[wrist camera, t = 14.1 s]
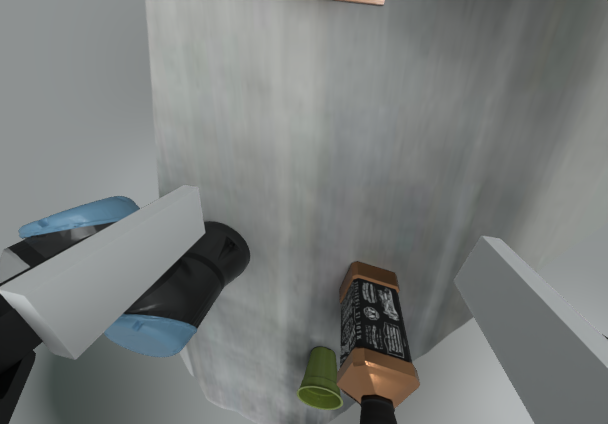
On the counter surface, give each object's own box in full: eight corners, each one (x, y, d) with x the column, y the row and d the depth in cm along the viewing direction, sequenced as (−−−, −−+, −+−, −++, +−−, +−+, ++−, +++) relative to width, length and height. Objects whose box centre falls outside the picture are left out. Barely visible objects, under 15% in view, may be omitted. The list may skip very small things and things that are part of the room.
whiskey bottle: (353, 259, 46) (356, 511, 18) (398, 273, 45) (472, 554, 18) (338, 291, 51) (323, 523, 24) (379, 304, 51) (412, 556, 23)
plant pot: (324, 368, 69) (319, 413, 59) (296, 348, 66) (287, 392, 57) (352, 358, 63) (352, 406, 53) (323, 336, 61) (318, 382, 51)
